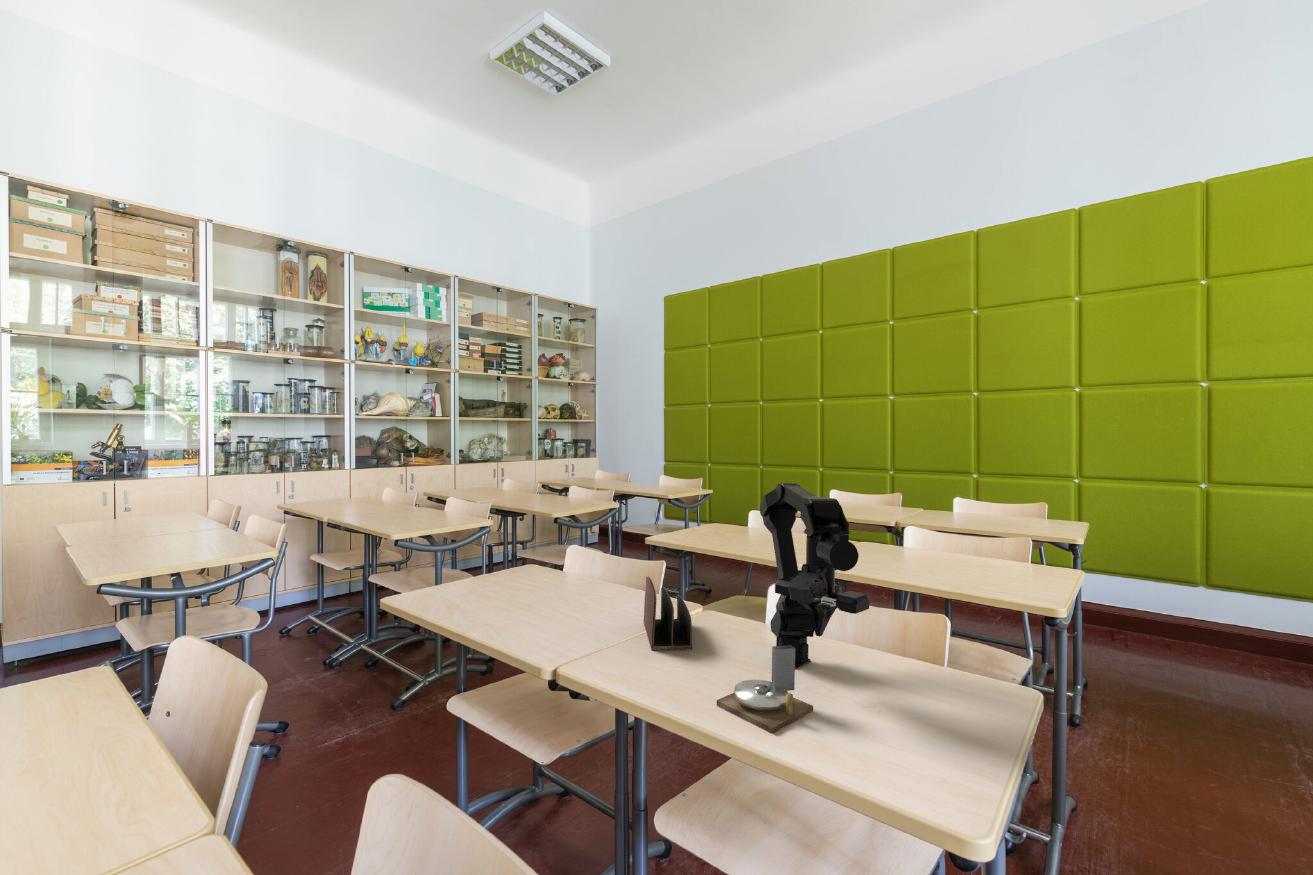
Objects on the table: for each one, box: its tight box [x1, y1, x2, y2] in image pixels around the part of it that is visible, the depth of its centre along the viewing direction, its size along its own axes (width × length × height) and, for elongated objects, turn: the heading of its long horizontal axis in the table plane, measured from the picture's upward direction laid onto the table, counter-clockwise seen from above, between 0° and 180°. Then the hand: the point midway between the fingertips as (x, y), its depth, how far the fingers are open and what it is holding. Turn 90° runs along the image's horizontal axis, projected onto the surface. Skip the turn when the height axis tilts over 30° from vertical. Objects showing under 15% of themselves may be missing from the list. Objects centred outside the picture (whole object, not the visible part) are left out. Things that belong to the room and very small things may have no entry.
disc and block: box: [733, 645, 796, 711], centre depth 104 cm, size 12×10×9 cm
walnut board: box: [716, 692, 814, 734], centre depth 104 cm, size 13×13×5 cm
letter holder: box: [643, 576, 693, 652], centre depth 141 cm, size 10×20×14 cm, turn 7°
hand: (819, 635), depth 112 cm, fingers closed
